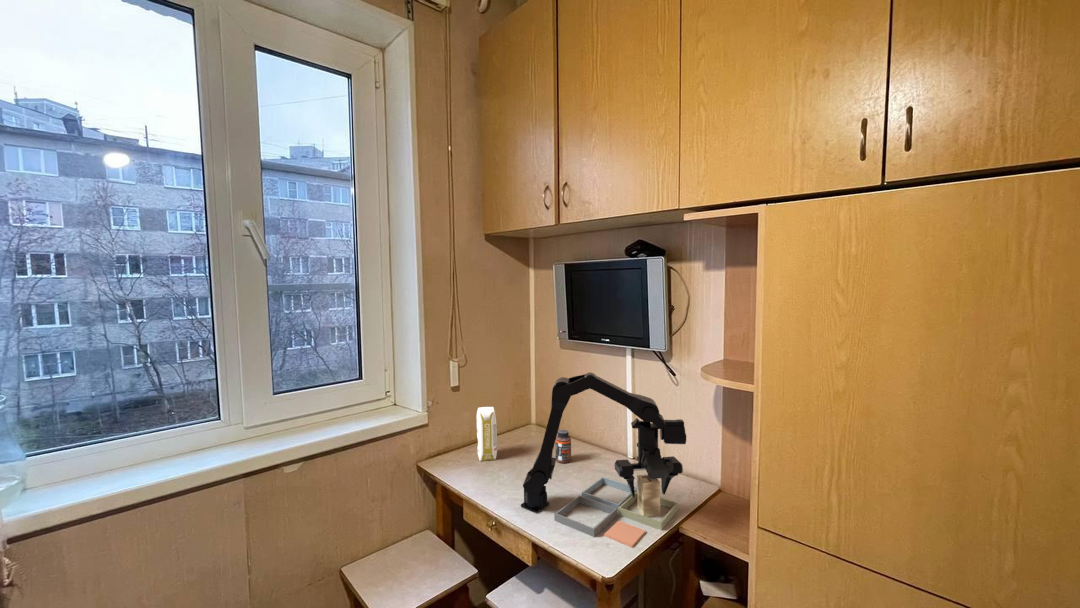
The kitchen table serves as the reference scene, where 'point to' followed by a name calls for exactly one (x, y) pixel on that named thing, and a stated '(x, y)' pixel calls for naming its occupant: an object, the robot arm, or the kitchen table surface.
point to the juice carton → (486, 433)
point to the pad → (624, 533)
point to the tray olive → (647, 520)
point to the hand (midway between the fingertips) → (648, 495)
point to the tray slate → (611, 483)
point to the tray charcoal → (579, 526)
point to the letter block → (648, 496)
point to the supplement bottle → (563, 447)
